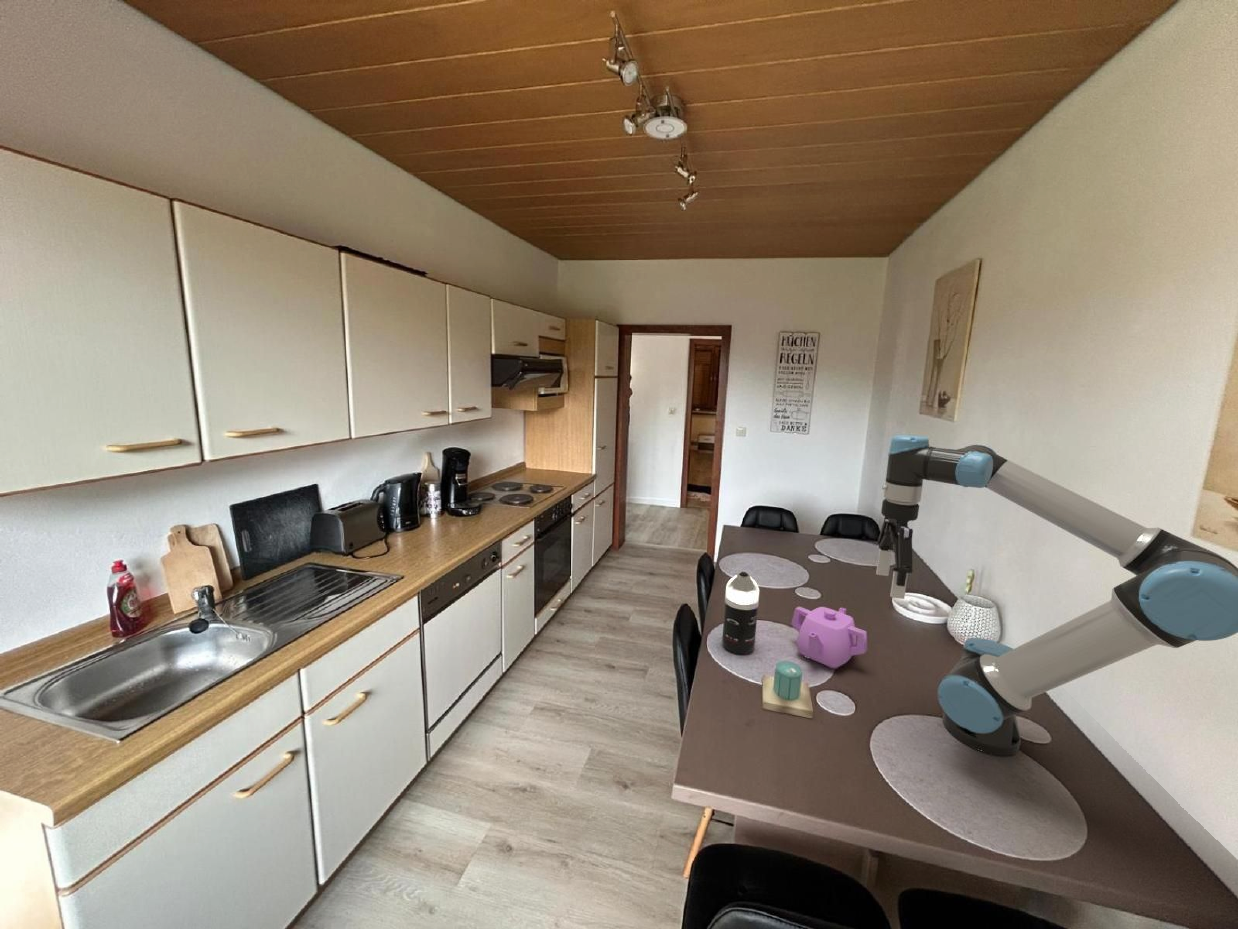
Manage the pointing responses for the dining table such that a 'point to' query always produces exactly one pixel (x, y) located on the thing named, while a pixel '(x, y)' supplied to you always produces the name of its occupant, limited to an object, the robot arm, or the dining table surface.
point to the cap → (787, 680)
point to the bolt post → (779, 704)
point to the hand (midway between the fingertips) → (889, 585)
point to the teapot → (828, 635)
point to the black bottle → (740, 614)
